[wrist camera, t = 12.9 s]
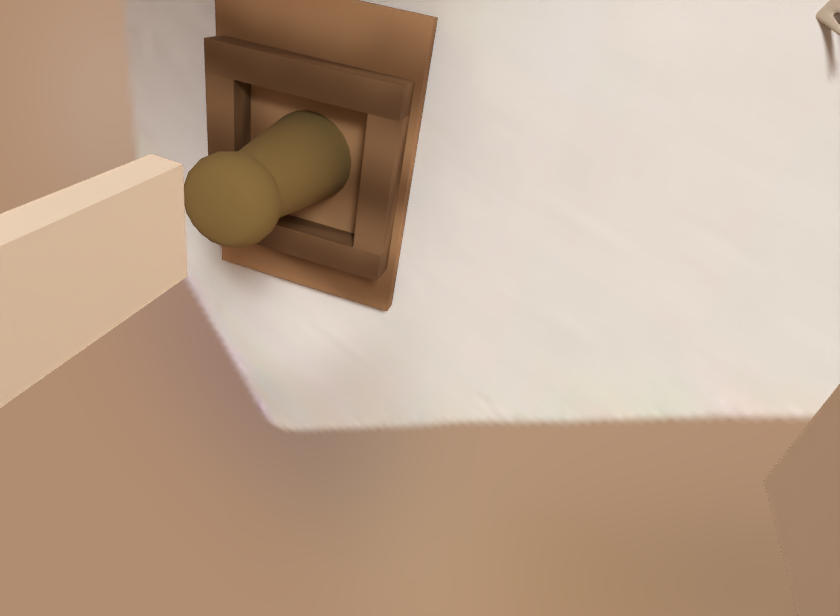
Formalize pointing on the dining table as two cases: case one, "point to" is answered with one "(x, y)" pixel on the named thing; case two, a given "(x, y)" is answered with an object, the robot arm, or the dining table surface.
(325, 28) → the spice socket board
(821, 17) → the fork
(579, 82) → the dining table surface
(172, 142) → the dining table surface
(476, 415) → the dining table surface
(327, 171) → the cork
